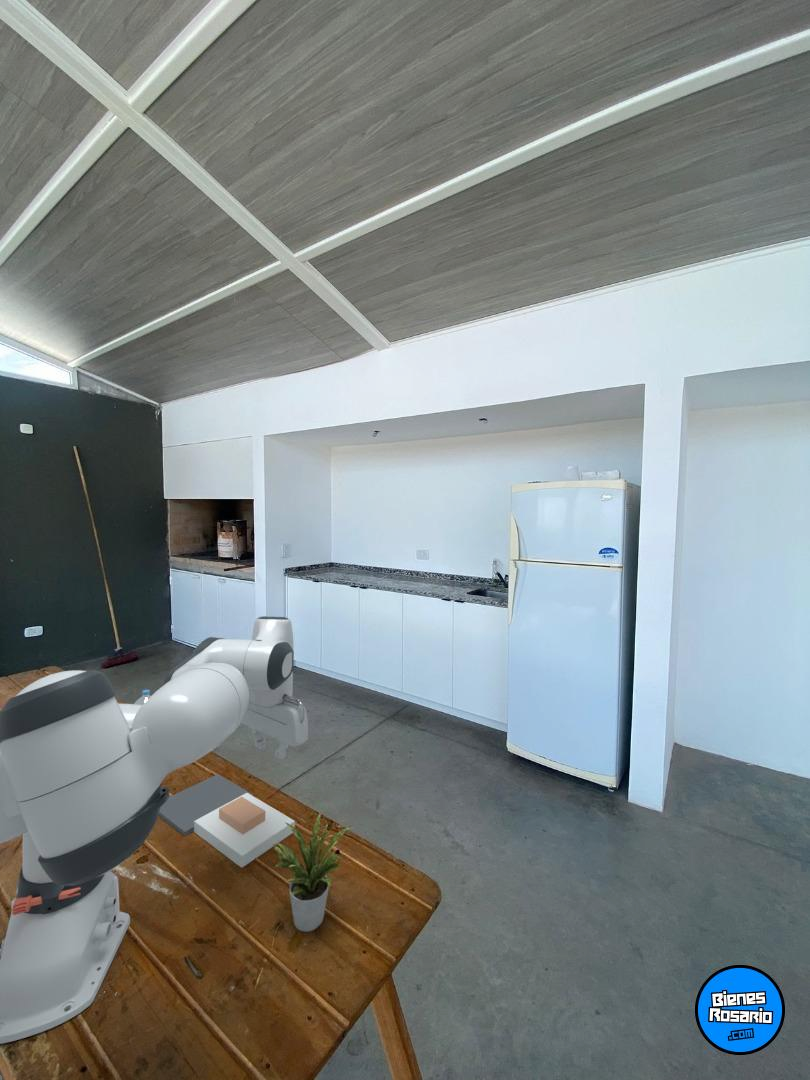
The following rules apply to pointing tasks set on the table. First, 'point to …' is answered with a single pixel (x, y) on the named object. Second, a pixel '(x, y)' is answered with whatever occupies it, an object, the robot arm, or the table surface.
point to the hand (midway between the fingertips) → (270, 752)
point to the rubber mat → (198, 802)
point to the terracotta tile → (242, 815)
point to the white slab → (249, 843)
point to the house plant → (309, 876)
